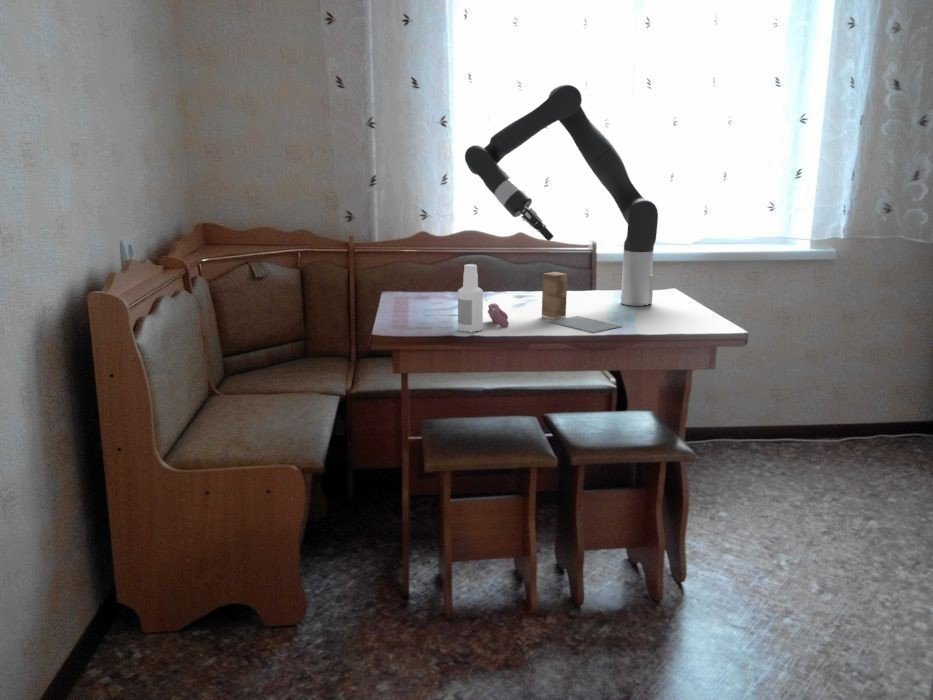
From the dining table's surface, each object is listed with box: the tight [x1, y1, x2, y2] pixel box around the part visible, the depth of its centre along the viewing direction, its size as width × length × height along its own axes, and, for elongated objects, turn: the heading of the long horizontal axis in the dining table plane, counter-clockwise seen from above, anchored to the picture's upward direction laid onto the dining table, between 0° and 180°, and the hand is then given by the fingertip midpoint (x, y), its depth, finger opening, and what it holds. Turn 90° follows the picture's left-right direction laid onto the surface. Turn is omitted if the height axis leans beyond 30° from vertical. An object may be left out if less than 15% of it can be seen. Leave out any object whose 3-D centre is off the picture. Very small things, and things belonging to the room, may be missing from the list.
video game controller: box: [487, 303, 510, 328], centre depth 226 cm, size 10×5×7 cm, turn 179°
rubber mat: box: [548, 315, 623, 333], centre depth 226 cm, size 17×12×1 cm
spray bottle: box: [457, 263, 484, 332], centre depth 217 cm, size 7×7×18 cm
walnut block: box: [541, 271, 568, 321], centre depth 234 cm, size 5×5×13 cm
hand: (550, 238), depth 234 cm, fingers closed
